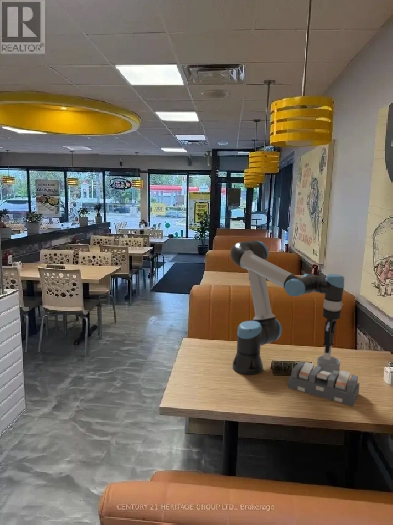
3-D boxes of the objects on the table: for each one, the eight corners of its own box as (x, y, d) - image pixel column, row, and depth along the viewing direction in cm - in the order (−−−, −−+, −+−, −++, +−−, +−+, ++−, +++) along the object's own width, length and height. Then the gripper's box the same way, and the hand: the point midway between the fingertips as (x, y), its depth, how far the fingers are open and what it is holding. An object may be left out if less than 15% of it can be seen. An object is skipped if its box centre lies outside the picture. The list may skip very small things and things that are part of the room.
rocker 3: (335, 387, 165) (335, 384, 164) (340, 373, 172) (340, 370, 171) (345, 390, 162) (345, 386, 162) (350, 375, 170) (350, 372, 169)
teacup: (340, 381, 182) (342, 365, 181) (317, 378, 185) (318, 362, 183) (336, 368, 196) (337, 354, 195) (314, 366, 198) (315, 351, 197)
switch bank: (287, 387, 174) (289, 370, 173) (297, 377, 185) (298, 360, 184) (352, 406, 159) (354, 387, 158) (358, 393, 170) (360, 375, 169)
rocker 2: (316, 377, 168) (317, 373, 168) (322, 374, 176) (322, 370, 177) (326, 379, 166) (326, 375, 166) (331, 376, 174) (331, 372, 174)
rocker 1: (298, 377, 173) (298, 374, 172) (305, 364, 181) (305, 361, 180) (307, 379, 171) (307, 376, 170) (314, 366, 178) (314, 363, 178)
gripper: (337, 314, 163) (331, 365, 167) (344, 307, 174) (338, 356, 178) (319, 310, 167) (314, 361, 171) (327, 304, 177) (322, 352, 182)
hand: (326, 358), depth 174 cm, fingers closed
